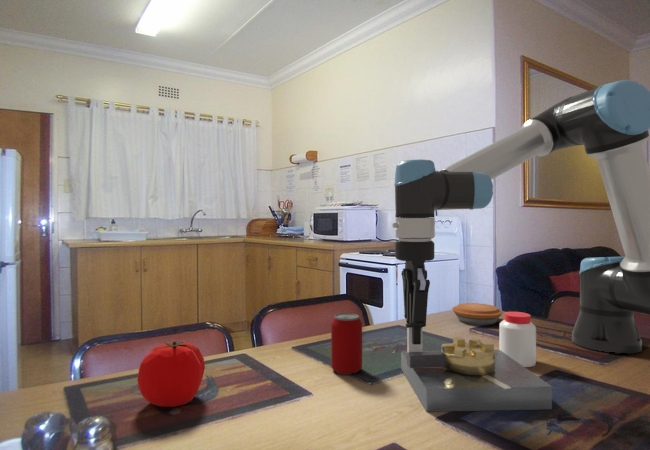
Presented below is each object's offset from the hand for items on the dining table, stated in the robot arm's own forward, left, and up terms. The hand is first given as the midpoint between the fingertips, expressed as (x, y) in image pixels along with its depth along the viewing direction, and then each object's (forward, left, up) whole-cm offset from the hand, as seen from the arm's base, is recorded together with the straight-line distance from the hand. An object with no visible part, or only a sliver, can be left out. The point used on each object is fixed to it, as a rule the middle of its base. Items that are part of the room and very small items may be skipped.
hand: (414, 358), depth 82 cm
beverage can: (+13, -9, -6) cm, 17 cm away
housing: (-10, +1, -6) cm, 12 cm away
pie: (-33, -51, -6) cm, 61 cm away
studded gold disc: (-7, +1, -1) cm, 7 cm away
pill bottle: (-27, -13, -6) cm, 31 cm away
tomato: (+46, +5, -6) cm, 46 cm away
